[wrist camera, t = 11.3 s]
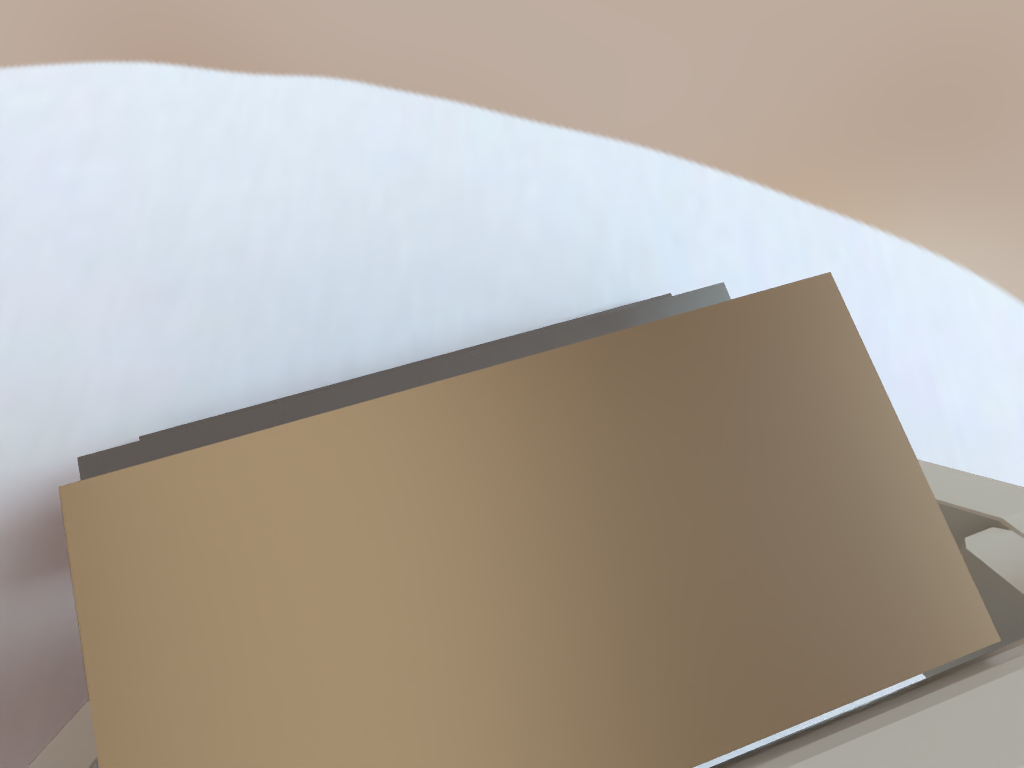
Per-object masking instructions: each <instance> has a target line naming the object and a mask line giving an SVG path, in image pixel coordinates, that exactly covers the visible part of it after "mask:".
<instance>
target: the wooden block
mask: <svg viewBox="0 0 1024 768" xmlns="http://www.w3.org/2000/svg"><path fill="white" fill-rule="evenodd" d="M59 492H60V499H61V506H62V513H63V520H64V527H65V534H66V541H67V548H68V555H69V562H70V569H71V576H72V583H73V590H74V597H75V604H76V611H77V618H78V625H79V632H80V638H81V645H82V652H83V659H84V666H85V673H86V680H87V687H88V694H89V701H90V708H91V715H92V722H93V729H94V736H95V743H96V750H97V757H98V764H99V768H693V767H695V766H698V765H700V764H703V763H705V762H708V761H710V760H713V759H715V758H717V757H720V756H722V755H725V754H727V753H730V752H732V751H734V750H737V749H739V748H742V747H744V746H747V745H749V744H751V743H754V742H756V741H759V740H761V739H764V738H766V737H768V736H771V735H773V734H776V733H778V732H781V731H783V730H786V729H788V728H790V727H793V726H795V725H798V724H800V723H803V722H805V721H807V720H810V719H812V718H815V717H817V716H820V715H822V714H824V713H827V712H829V711H832V710H834V709H837V708H839V707H841V706H844V705H846V704H849V703H851V702H854V701H856V700H859V699H861V698H863V697H866V696H868V695H871V694H873V693H876V692H878V691H880V690H883V689H885V688H888V687H890V686H893V685H895V684H897V683H900V682H902V681H905V680H907V679H910V678H912V677H914V676H917V675H919V674H922V673H924V672H927V671H929V670H932V669H934V668H936V667H939V666H941V665H944V664H946V663H949V662H951V661H953V660H956V659H958V658H961V657H963V656H966V655H968V654H970V653H973V652H975V651H978V650H980V649H983V648H985V647H987V646H990V645H992V644H995V643H997V642H1000V641H1001V639H1000V637H999V635H998V632H997V630H996V628H995V626H994V624H993V622H992V620H991V617H990V615H989V613H988V611H987V609H986V607H985V604H984V602H983V600H982V598H981V596H980V594H979V591H978V589H977V587H976V585H975V583H974V581H973V579H972V576H971V574H970V572H969V570H968V568H967V566H966V563H965V561H964V559H963V557H962V555H961V553H960V551H959V548H958V546H957V544H956V542H955V540H954V538H953V535H952V533H951V531H950V529H949V527H948V525H947V522H946V520H945V518H944V516H943V514H942V512H941V510H940V507H939V505H938V503H937V501H936V499H935V497H934V494H933V492H932V490H931V488H930V486H929V484H928V482H927V479H926V477H925V475H924V473H923V471H922V469H921V466H920V464H919V462H918V460H917V458H916V456H915V453H914V451H913V449H912V447H911V445H910V443H909V441H908V438H907V436H906V434H905V432H904V430H903V428H902V425H901V423H900V421H899V419H898V417H897V415H896V413H895V410H894V408H893V406H892V404H891V402H890V400H889V397H888V395H887V393H886V391H885V389H884V387H883V385H882V382H881V380H880V378H879V376H878V374H877V372H876V369H875V367H874V365H873V363H872V361H871V359H870V356H869V354H868V352H867V350H866V348H865V346H864V344H863V341H862V339H861V337H860V335H859V333H858V331H857V328H856V326H855V324H854V322H853V320H852V318H851V316H850V313H849V311H848V309H847V307H846V305H845V303H844V300H843V298H842V296H841V294H840V292H839V290H838V287H837V285H836V283H835V281H834V279H833V277H832V275H831V272H829V273H825V274H821V275H818V276H814V277H811V278H807V279H803V280H800V281H796V282H793V283H789V284H786V285H782V286H778V287H775V288H771V289H768V290H764V291H760V292H757V293H753V294H750V295H746V296H742V297H739V298H735V299H732V300H728V301H724V302H721V303H717V304H714V305H710V306H707V307H703V308H699V309H696V310H692V311H689V312H685V313H681V314H678V315H674V316H671V317H667V318H663V319H660V320H656V321H653V322H649V323H645V324H642V325H638V326H635V327H631V328H628V329H624V330H620V331H617V332H613V333H610V334H606V335H602V336H599V337H595V338H592V339H588V340H584V341H581V342H577V343H574V344H570V345H566V346H563V347H559V348H556V349H552V350H549V351H545V352H541V353H538V354H534V355H531V356H527V357H523V358H520V359H516V360H513V361H509V362H505V363H502V364H498V365H495V366H491V367H487V368H484V369H480V370H477V371H473V372H470V373H466V374H462V375H459V376H455V377H452V378H448V379H444V380H441V381H437V382H434V383H430V384H426V385H423V386H419V387H416V388H412V389H408V390H405V391H401V392H398V393H394V394H391V395H387V396H383V397H380V398H376V399H373V400H369V401H365V402H362V403H358V404H355V405H351V406H347V407H344V408H340V409H337V410H333V411H329V412H326V413H322V414H319V415H315V416H312V417H308V418H304V419H301V420H297V421H294V422H290V423H286V424H283V425H279V426H276V427H272V428H268V429H265V430H261V431H258V432H254V433H250V434H247V435H243V436H240V437H236V438H233V439H229V440H225V441H222V442H218V443H215V444H211V445H207V446H204V447H200V448H197V449H193V450H189V451H186V452H182V453H179V454H175V455H172V456H168V457H164V458H161V459H157V460H154V461H150V462H146V463H143V464H139V465H136V466H132V467H128V468H125V469H121V470H118V471H114V472H110V473H107V474H103V475H100V476H96V477H93V478H89V479H85V480H82V481H78V482H75V483H71V484H67V485H64V486H60V487H59Z"/></svg>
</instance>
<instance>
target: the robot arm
mask: <svg viewBox="0 0 1024 768" xmlns="http://www.w3.org/2000/svg"><path fill="white" fill-rule="evenodd" d="M917 460H918V459H917ZM918 462H919V464H920V466H921V469H922V471H923V473H924V475H925V477H926V479H927V482H928V484H929V486H930V488H931V490H932V492H933V494H934V497H935V499H936V501H937V503H938V505H939V507H940V510H941V512H942V514H943V516H944V518H945V520H946V522H947V525H948V527H949V529H950V531H951V533H952V535H953V538H954V540H955V542H956V544H957V546H958V548H959V551H960V553H961V555H962V557H963V559H964V561H965V563H966V566H967V568H968V570H969V572H970V574H971V576H972V579H973V581H974V583H975V585H976V587H977V589H978V591H979V594H980V596H981V598H982V600H983V602H984V604H985V607H986V609H987V611H988V613H989V615H990V617H991V620H992V622H993V624H994V626H995V628H996V630H997V632H998V635H999V637H1000V639H1001V641H1000V642H997V643H995V644H992V645H990V646H987V647H985V648H983V649H980V650H978V651H975V652H973V653H970V654H968V655H966V656H963V657H961V658H958V659H956V660H953V661H951V662H949V663H946V664H944V665H941V666H939V667H936V668H934V669H932V670H929V671H927V672H924V673H922V674H923V675H924V676H925V677H926V679H923V680H921V681H918V682H916V683H914V684H911V685H909V686H906V687H904V688H901V689H899V690H897V691H894V692H892V693H889V694H887V695H884V696H882V697H880V698H877V699H875V700H872V701H870V702H868V703H865V704H863V705H860V706H858V707H855V708H853V709H851V710H848V711H846V712H843V713H841V714H838V715H836V716H834V717H831V718H829V719H826V720H824V721H822V722H819V723H817V724H814V725H812V726H809V727H807V728H805V729H802V730H800V731H797V732H795V733H792V734H790V735H788V736H785V737H783V738H780V739H778V740H776V741H773V742H771V743H768V744H766V745H763V746H761V747H759V748H756V749H754V750H751V751H749V752H746V753H744V754H742V755H739V756H737V757H734V758H732V759H729V760H727V761H725V762H722V763H720V764H717V765H715V766H713V767H710V768H1024V487H1021V486H1017V485H1013V484H1009V483H1005V482H1002V481H998V480H994V479H990V478H986V477H982V476H979V475H975V474H971V473H967V472H963V471H960V470H956V469H952V468H948V467H944V466H941V465H937V464H933V463H929V462H925V461H921V460H918ZM27 768H99V764H98V757H97V750H96V743H95V736H94V729H93V722H92V715H91V708H90V701H87V702H86V703H85V704H84V706H83V707H82V708H81V709H80V710H79V711H78V712H77V713H76V714H75V715H74V717H73V718H72V719H71V720H70V721H69V722H68V723H67V724H66V725H65V727H64V728H63V729H62V730H61V731H60V732H59V733H58V734H57V735H56V736H55V738H54V739H53V740H52V741H51V742H50V743H49V744H48V745H47V746H46V747H45V749H44V750H43V751H42V752H41V753H40V754H39V755H38V756H37V757H36V759H35V760H34V761H33V762H32V763H31V764H30V765H29V766H28V767H27Z"/></svg>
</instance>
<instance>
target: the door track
mask: <svg viewBox="0 0 1024 768" xmlns="http://www.w3.org/2000/svg"><path fill="white" fill-rule="evenodd" d="M728 300H731V299H730V296H729V294H728V291H727V289H726V287H725V284H724V282H723V283H719V284H716V285H712V286H708V287H704V288H701V289H697V290H693V291H690V292H686V293H682V294H679V295H675V296H672V295H671V293H669V294H665V295H662V296H658V297H654V298H651V299H647V300H643V301H640V302H636V303H632V304H628V305H625V306H621V307H617V308H614V309H610V310H606V311H603V312H599V313H595V314H591V315H588V316H584V317H580V318H577V319H573V320H569V321H566V322H562V323H558V324H554V325H551V326H547V327H543V328H540V329H536V330H532V331H529V332H525V333H521V334H517V335H514V336H510V337H506V338H503V339H499V340H495V341H492V342H488V343H484V344H480V345H477V346H473V347H469V348H466V349H462V350H458V351H455V352H451V353H447V354H443V355H440V356H436V357H432V358H429V359H425V360H421V361H418V362H414V363H410V364H406V365H403V366H399V367H395V368H392V369H388V370H384V371H381V372H377V373H373V374H369V375H366V376H362V377H358V378H355V379H351V380H347V381H343V382H340V383H336V384H332V385H329V386H325V387H321V388H318V389H314V390H310V391H306V392H303V393H299V394H295V395H292V396H288V397H284V398H281V399H277V400H273V401H269V402H266V403H262V404H258V405H255V406H251V407H247V408H244V409H240V410H236V411H232V412H229V413H225V414H221V415H218V416H214V417H210V418H207V419H203V420H199V421H195V422H192V423H188V424H184V425H181V426H177V427H173V428H170V429H166V430H162V431H158V432H155V433H151V434H147V435H144V436H140V437H139V439H140V441H137V442H133V443H129V444H126V445H122V446H118V447H115V448H111V449H107V450H104V451H100V452H96V453H93V454H89V455H85V456H81V457H78V465H79V471H80V478H81V481H82V480H85V479H89V478H93V477H96V476H100V475H103V474H107V473H110V472H114V471H118V470H121V469H125V468H128V467H132V466H136V465H139V464H143V463H146V462H150V461H154V460H157V459H161V458H164V457H168V456H172V455H175V454H179V453H182V452H186V451H189V450H193V449H197V448H200V447H204V446H207V445H211V444H215V443H218V442H222V441H225V440H229V439H233V438H236V437H240V436H243V435H247V434H250V433H254V432H258V431H261V430H265V429H268V428H272V427H276V426H279V425H283V424H286V423H290V422H294V421H297V420H301V419H304V418H308V417H312V416H315V415H319V414H322V413H326V412H329V411H333V410H337V409H340V408H344V407H347V406H351V405H355V404H358V403H362V402H365V401H369V400H373V399H376V398H380V397H383V396H387V395H391V394H394V393H398V392H401V391H405V390H408V389H412V388H416V387H419V386H423V385H426V384H430V383H434V382H437V381H441V380H444V379H448V378H452V377H455V376H459V375H462V374H466V373H470V372H473V371H477V370H480V369H484V368H487V367H491V366H495V365H498V364H502V363H505V362H509V361H513V360H516V359H520V358H523V357H527V356H531V355H534V354H538V353H541V352H545V351H549V350H552V349H556V348H559V347H563V346H566V345H570V344H574V343H577V342H581V341H584V340H588V339H592V338H595V337H599V336H602V335H606V334H610V333H613V332H617V331H620V330H624V329H628V328H631V327H635V326H638V325H642V324H645V323H649V322H653V321H656V320H660V319H663V318H667V317H671V316H674V315H678V314H681V313H685V312H689V311H692V310H696V309H699V308H703V307H707V306H710V305H714V304H717V303H721V302H724V301H728Z"/></svg>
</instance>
